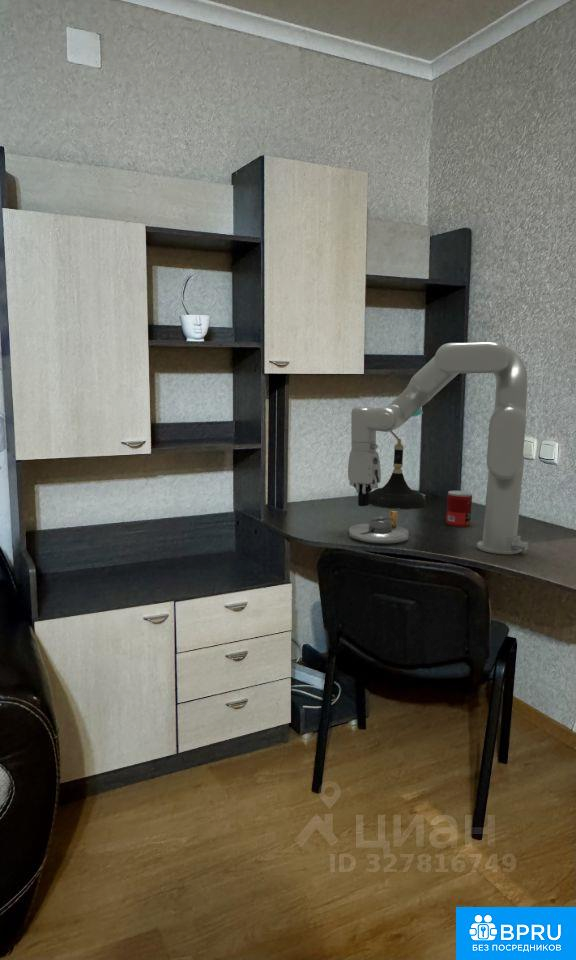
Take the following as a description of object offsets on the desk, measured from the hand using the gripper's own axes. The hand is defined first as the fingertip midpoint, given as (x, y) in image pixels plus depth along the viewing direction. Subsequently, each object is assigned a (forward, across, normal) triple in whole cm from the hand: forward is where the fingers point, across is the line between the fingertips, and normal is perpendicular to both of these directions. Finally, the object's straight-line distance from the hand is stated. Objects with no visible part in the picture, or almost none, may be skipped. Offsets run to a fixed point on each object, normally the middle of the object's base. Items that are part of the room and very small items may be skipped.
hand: (363, 505), depth 217 cm
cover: (+7, -7, +1) cm, 10 cm away
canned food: (+10, -11, -36) cm, 39 cm away
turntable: (+9, -7, +1) cm, 11 cm away
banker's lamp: (+9, +25, -48) cm, 55 cm away
